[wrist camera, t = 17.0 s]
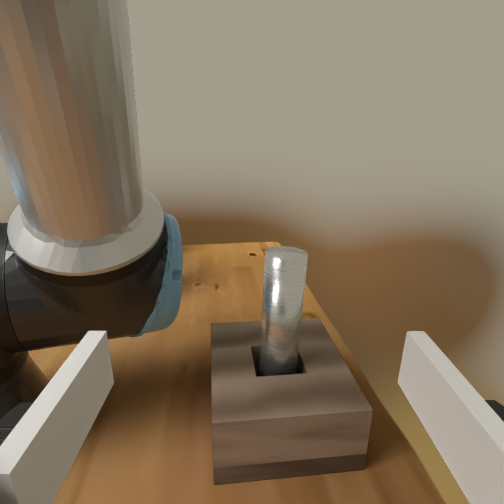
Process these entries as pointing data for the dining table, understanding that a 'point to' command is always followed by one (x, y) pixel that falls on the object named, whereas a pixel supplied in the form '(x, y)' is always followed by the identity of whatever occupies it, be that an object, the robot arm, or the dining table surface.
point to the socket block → (284, 408)
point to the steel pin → (282, 310)
